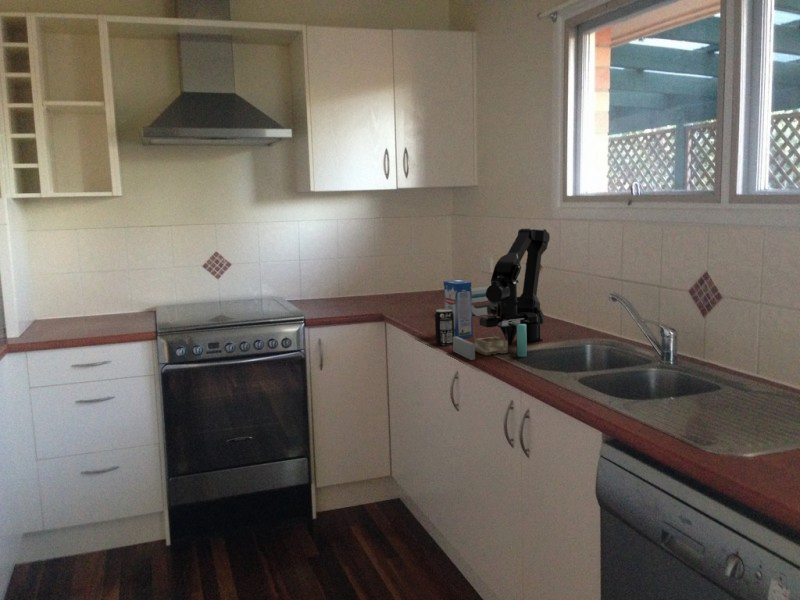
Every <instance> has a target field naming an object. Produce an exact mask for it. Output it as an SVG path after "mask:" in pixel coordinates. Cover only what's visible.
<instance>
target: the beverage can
mask: <svg viewBox="0 0 800 600" xmlns="http://www.w3.org/2000/svg"><path fill="white" fill-rule="evenodd" d="M434 324H435V329H434V330H435V343H437V345H438V346H453V337H455V335H454V314H453V312H452V309H445V308H439V309H436V310H435V313H434Z"/></svg>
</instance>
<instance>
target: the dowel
mask: <svg viewBox="0 0 800 600" xmlns="http://www.w3.org/2000/svg"><path fill="white" fill-rule="evenodd" d="M516 345H517V346H516V348H517V349H516V351H517V352H516V353H517V357H518V358H519V357H520V358H524V357H525V358H526V357H528V347H527V345H528V342H527V333H526V324H518V325H517V333H516Z"/></svg>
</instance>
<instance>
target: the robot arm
mask: <svg viewBox="0 0 800 600" xmlns="http://www.w3.org/2000/svg"><path fill="white" fill-rule="evenodd" d="M550 240H551V238H550V233H549V232H548V231H547V229H543V228H541V229H540V228H537V229H536V228H534V229H533V228H519V229H518V232H517V237H516V238H515V240H514V241H513V243H512V245H510V246H511V247H510V248H509V249H508V252H507V253H506V254H504V255H502V256H500V258H499V259H498V260H497V262H496V264H495V265H494V269H493V272H492V274H491V275H492V276H491V279H490V284H491V285H488V286H489V287H488V288H487V290H486V297H487V299H488V300H489V303H490V302H492V303H497V306H494V305H493V304H492V305H487V304H486V305H487V315H482V316H480V318H479V326H482V327H485V328H495V327H498V328H499V329H500V330H501V332H502V335H503V337H504V339H505V340H507V341H508V346H512V344H513V341H514V339H515V336H517V325H518V324H526V333H527V343H531V342H539V341H543V338H541V324H544V321H545V315H544V313H543V311H542V309H541V302H540V300H539V298H538V295H537V292H538V285H539V278H540V277H539V276H540V270H541V260H542V255H543V254H544V253H545V251H546V250H547V249H548V245H549V242H550ZM526 252H527V255H526V263H525V264H526V265H525V270H524V271H525V272H524V279H523V285H522V294H520V296H518V292H517V291H518V288H517V285H518V284H519V280H518V277H519V275H520V273H521V269H522V266H521V261H522V259H523V258H524V255H525V254H526Z"/></svg>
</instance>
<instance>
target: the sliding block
mask: <svg viewBox="0 0 800 600" xmlns="http://www.w3.org/2000/svg"><path fill="white" fill-rule="evenodd" d="M474 344H475V352H477V353H479V354H481V355H484V356H492V355H491V354H493V355H495V354H494V353H501V354H507V353H508V354H509V348H508V347H509V345H508V341H507V340H505V338H502V337H500V336H489V337H481V338H480V337H478V338H474Z"/></svg>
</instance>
